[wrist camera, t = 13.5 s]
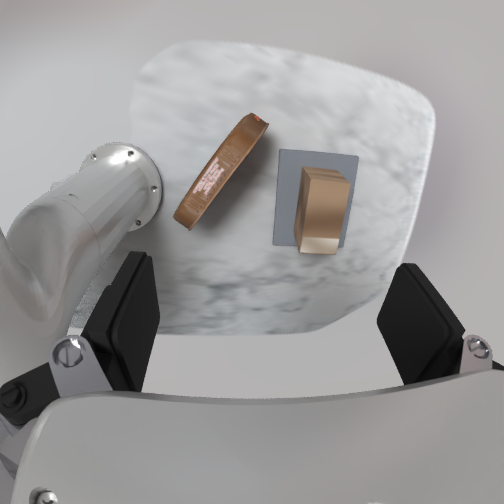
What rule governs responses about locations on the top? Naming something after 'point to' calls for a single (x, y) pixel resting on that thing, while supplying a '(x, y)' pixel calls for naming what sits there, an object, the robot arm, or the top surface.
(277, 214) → the mat
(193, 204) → the tin
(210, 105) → the top surface
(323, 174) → the card box
